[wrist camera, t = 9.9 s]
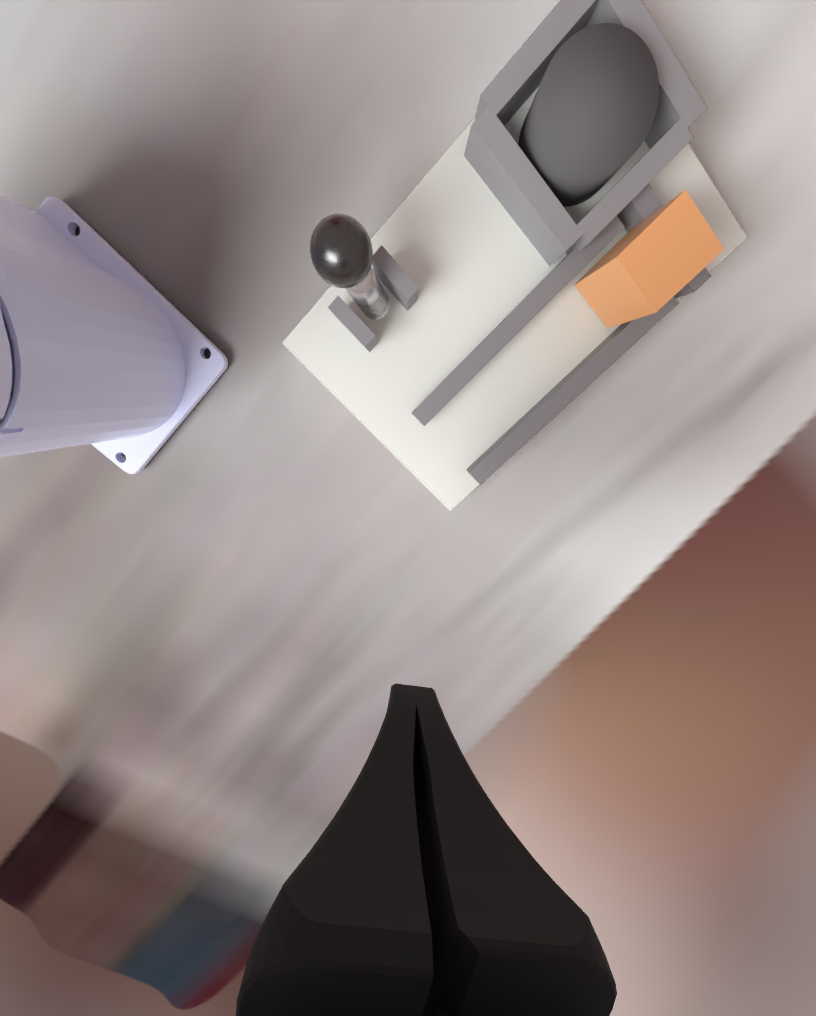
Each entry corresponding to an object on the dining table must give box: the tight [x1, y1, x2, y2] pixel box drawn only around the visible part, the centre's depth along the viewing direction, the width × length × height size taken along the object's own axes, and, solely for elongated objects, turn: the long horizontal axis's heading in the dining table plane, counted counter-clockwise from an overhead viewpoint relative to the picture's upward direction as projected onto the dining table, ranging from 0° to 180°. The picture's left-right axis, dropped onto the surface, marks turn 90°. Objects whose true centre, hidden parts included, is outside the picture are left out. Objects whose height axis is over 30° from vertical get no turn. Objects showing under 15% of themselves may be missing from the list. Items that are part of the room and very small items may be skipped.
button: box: [518, 23, 659, 207], centre depth 14 cm, size 4×4×2 cm
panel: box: [282, 0, 747, 511], centre depth 16 cm, size 11×17×4 cm, turn 135°
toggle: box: [310, 214, 390, 320], centre depth 14 cm, size 2×2×5 cm
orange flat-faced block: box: [575, 190, 724, 328], centre depth 15 cm, size 2×3×3 cm
